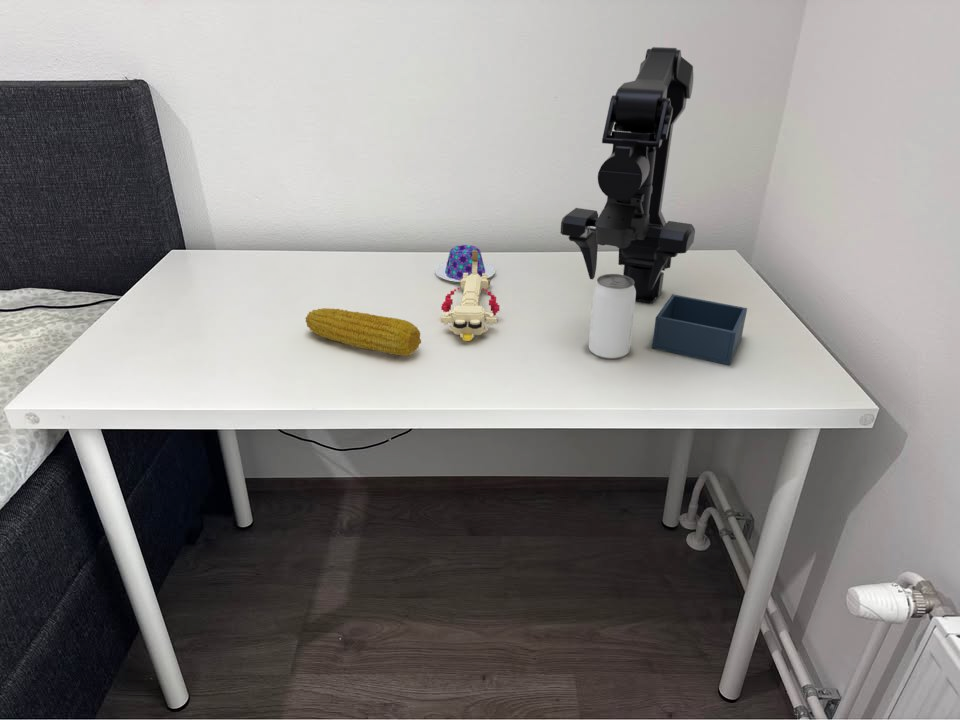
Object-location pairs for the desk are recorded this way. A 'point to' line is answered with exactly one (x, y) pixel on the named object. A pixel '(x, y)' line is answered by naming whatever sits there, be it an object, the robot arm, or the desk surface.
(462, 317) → the cream brick animal figure
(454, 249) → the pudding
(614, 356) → the can
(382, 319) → the food
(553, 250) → the desk surface
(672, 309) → the bin
